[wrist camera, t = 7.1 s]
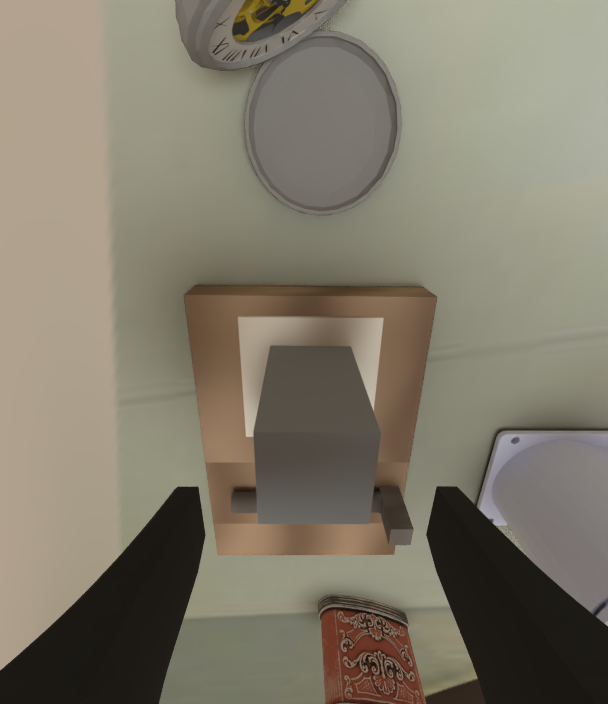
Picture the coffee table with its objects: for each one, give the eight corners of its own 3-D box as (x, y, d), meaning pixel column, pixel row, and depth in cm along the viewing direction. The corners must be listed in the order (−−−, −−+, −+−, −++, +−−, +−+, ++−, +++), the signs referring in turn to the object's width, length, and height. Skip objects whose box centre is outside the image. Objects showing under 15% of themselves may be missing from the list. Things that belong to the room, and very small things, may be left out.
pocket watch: (343, 240, 17) (392, 286, 8) (186, 141, 16) (27, 61, 6) (449, 65, 15) (699, -158, 6) (273, -80, 13) (209, -769, 4)
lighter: (311, 613, 30) (317, 797, 21) (327, 589, 28) (341, 774, 19) (394, 633, 31) (434, 815, 22) (413, 611, 30) (464, 794, 21)
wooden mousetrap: (423, 287, 18) (464, 316, 14) (387, 529, 26) (406, 600, 21) (195, 285, 18) (160, 314, 14) (223, 529, 25) (207, 602, 21)
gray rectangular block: (345, 414, 19) (369, 524, 13) (272, 413, 19) (258, 524, 12) (350, 346, 17) (381, 432, 11) (270, 345, 17) (253, 432, 11)
